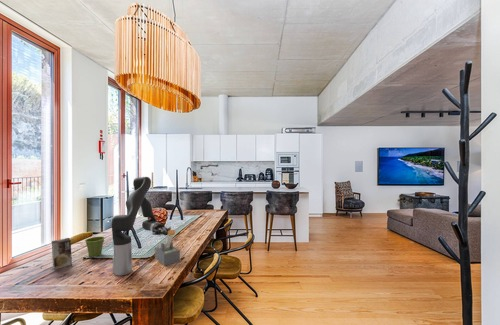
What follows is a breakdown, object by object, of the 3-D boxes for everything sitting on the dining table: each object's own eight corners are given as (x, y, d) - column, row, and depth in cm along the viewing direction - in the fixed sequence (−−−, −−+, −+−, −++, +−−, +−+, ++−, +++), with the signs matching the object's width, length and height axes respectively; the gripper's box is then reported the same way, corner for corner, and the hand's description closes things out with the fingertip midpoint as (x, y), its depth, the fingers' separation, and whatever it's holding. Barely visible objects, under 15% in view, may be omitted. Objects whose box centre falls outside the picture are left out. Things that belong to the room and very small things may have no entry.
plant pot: (96, 259, 167) (95, 242, 166) (80, 258, 169) (80, 241, 169) (109, 252, 178) (108, 236, 178) (95, 251, 180) (94, 235, 180)
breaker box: (155, 258, 166) (154, 241, 165) (170, 254, 172) (169, 238, 172) (164, 266, 153) (163, 248, 153) (179, 261, 160) (179, 244, 160)
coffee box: (70, 262, 162) (69, 237, 162) (72, 265, 158) (71, 239, 158) (52, 266, 156) (51, 240, 156) (53, 269, 151) (52, 243, 151)
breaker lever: (163, 246, 163) (168, 230, 155) (168, 245, 165) (173, 229, 158) (164, 249, 161) (169, 233, 154) (169, 248, 164) (175, 232, 156)
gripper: (147, 224, 171) (156, 230, 158) (166, 221, 180) (176, 226, 166) (147, 235, 172) (156, 241, 158) (166, 231, 180) (176, 237, 167)
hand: (166, 233), depth 162 cm, fingers closed
